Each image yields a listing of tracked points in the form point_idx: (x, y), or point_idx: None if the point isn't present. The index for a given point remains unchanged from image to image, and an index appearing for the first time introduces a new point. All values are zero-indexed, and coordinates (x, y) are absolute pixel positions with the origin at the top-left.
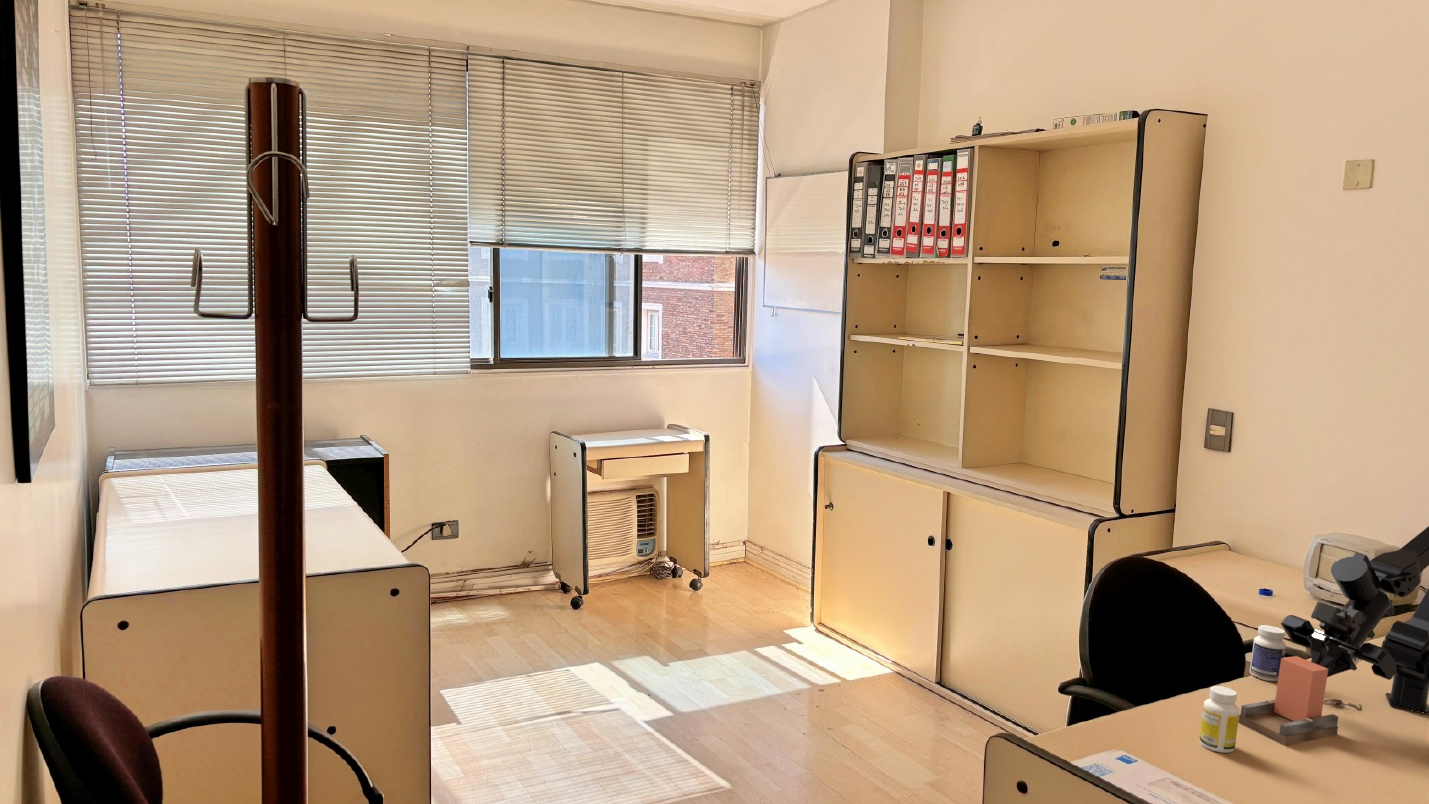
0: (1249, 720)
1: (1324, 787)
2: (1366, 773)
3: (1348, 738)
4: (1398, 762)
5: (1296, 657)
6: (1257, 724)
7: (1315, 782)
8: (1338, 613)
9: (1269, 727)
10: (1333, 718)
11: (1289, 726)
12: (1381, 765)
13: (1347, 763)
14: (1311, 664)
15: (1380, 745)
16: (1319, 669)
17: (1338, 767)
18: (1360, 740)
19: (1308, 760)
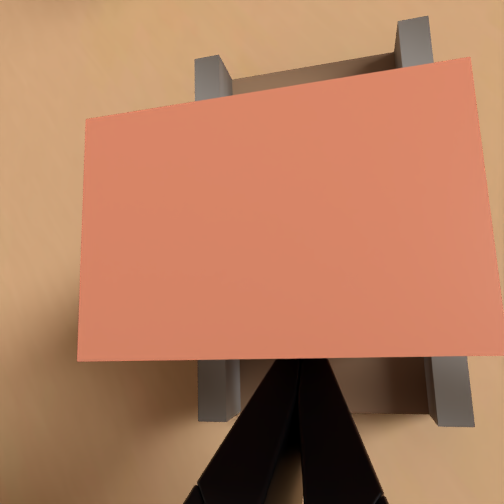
0: (370, 57)
1: (8, 17)
2: (9, 215)
3: (188, 423)
4: (12, 411)
5: (460, 304)
6: (330, 65)
7: (32, 13)
8: None
9: (287, 84)
10: (199, 380)
11: (196, 81)
12: (21, 322)
13: (66, 215)
14: (218, 279)
15: (109, 497)
16: (98, 241)
17: (61, 159)
18: (161, 458)
19: (120, 99)
